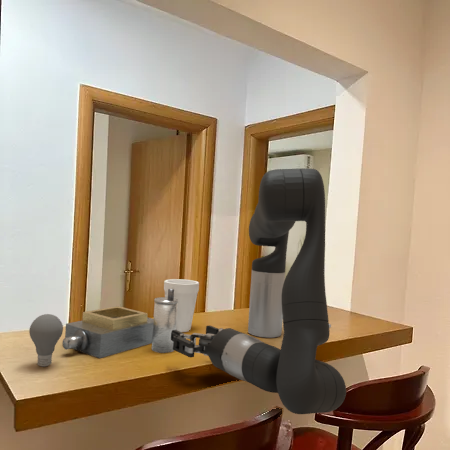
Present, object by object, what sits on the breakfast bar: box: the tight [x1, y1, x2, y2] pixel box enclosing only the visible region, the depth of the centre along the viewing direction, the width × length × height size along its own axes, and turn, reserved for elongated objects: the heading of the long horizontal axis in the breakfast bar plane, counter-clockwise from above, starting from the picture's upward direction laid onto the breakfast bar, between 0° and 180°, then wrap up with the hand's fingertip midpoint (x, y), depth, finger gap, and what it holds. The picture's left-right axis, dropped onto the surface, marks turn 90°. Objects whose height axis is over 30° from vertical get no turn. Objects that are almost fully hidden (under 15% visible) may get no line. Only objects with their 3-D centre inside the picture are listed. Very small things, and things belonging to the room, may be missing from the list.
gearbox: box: [61, 305, 154, 359], centre depth 96 cm, size 22×12×7 cm, turn 146°
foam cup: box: [163, 278, 200, 333], centre depth 114 cm, size 10×9×13 cm
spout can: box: [151, 289, 178, 354], centre depth 96 cm, size 5×5×14 cm
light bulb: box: [29, 313, 64, 368], centre depth 81 cm, size 6×6×10 cm
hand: (190, 332), depth 87 cm, fingers open, 8 cm apart
